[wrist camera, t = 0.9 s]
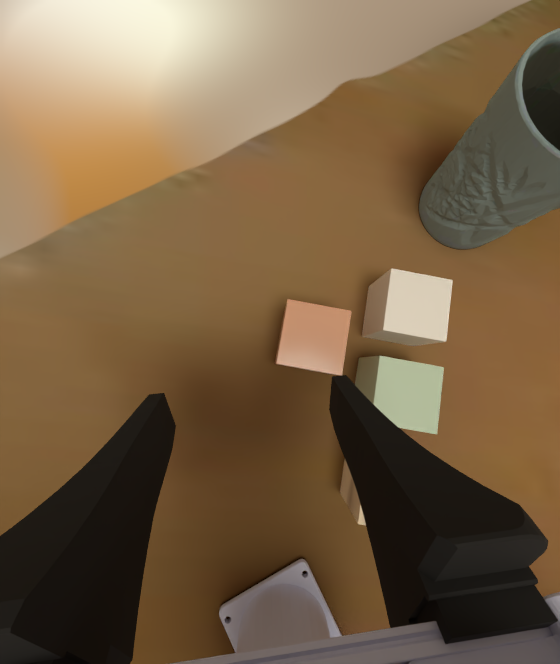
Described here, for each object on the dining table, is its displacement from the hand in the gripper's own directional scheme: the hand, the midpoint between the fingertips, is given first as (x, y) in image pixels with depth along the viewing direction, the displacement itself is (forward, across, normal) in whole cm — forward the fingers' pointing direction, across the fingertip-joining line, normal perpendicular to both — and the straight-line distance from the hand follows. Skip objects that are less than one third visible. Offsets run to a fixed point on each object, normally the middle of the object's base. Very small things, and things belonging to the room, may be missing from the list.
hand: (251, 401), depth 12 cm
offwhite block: (+14, -13, +4) cm, 19 cm away
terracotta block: (+12, -5, +6) cm, 14 cm away
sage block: (+9, -11, +10) cm, 17 cm away
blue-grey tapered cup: (+20, -22, -4) cm, 30 cm away
